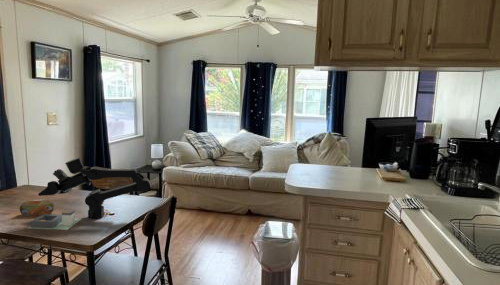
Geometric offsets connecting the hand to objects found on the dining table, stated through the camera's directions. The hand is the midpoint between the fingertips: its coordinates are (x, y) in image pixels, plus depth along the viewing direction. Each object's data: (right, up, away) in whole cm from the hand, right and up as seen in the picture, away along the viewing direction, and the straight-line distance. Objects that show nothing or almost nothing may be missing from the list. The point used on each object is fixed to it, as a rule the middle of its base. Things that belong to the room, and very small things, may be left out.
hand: (42, 194), depth 155 cm
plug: (+14, -14, -2) cm, 20 cm away
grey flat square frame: (+5, -14, -4) cm, 15 cm away
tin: (-8, -13, +8) cm, 17 cm away
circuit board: (+8, -14, -2) cm, 17 cm away
